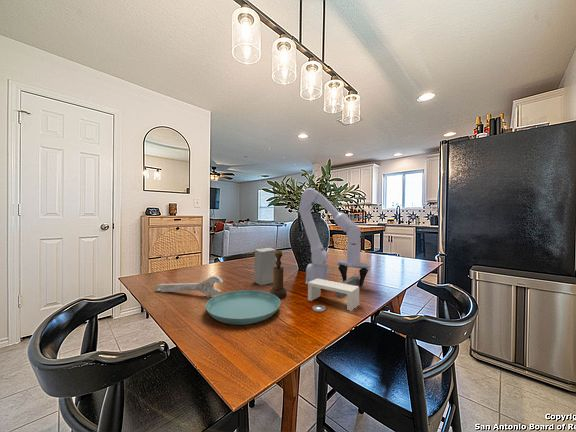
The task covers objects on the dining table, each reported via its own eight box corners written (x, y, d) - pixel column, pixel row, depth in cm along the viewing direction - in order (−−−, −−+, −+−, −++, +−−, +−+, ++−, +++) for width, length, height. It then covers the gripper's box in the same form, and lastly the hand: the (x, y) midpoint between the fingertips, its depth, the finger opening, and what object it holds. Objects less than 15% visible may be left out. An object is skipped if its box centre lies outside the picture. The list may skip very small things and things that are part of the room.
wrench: (159, 297, 99) (224, 296, 92) (156, 299, 98) (222, 297, 90) (158, 278, 99) (222, 275, 92) (154, 279, 98) (220, 276, 90)
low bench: (307, 300, 90) (308, 282, 90) (317, 295, 95) (317, 278, 95) (351, 311, 80) (351, 291, 80) (359, 305, 85) (359, 286, 85)
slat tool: (332, 295, 95) (332, 284, 95) (351, 284, 111) (351, 274, 111) (344, 298, 92) (344, 286, 92) (362, 286, 108) (362, 276, 108)
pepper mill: (266, 297, 93) (267, 250, 92) (275, 292, 98) (275, 248, 98) (281, 300, 89) (282, 252, 89) (289, 295, 95) (290, 249, 95)
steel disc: (309, 309, 82) (309, 306, 82) (319, 306, 84) (319, 304, 84) (318, 313, 78) (318, 310, 78) (328, 310, 81) (328, 307, 81)
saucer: (202, 334, 65) (202, 321, 65) (207, 301, 88) (207, 292, 88) (288, 324, 71) (288, 312, 71) (272, 296, 94) (272, 288, 94)
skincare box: (268, 279, 117) (269, 247, 117) (276, 283, 111) (277, 249, 111) (253, 282, 112) (253, 248, 112) (260, 286, 106) (261, 250, 106)
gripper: (334, 252, 107) (333, 282, 107) (366, 256, 98) (366, 289, 98) (341, 250, 112) (340, 279, 113) (372, 253, 104) (371, 285, 104)
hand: (352, 283), depth 106 cm, fingers open, 7 cm apart
